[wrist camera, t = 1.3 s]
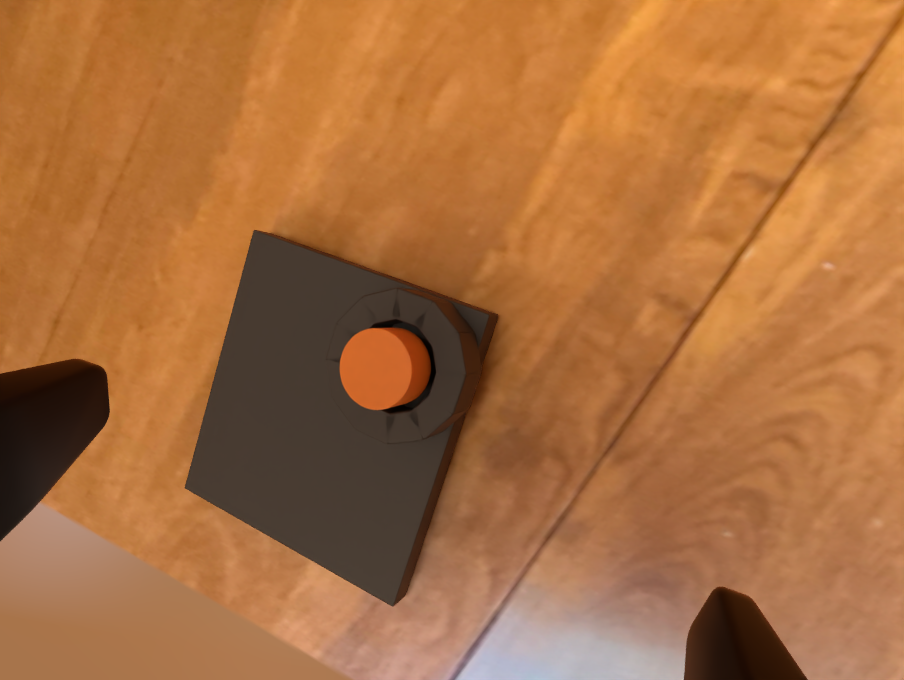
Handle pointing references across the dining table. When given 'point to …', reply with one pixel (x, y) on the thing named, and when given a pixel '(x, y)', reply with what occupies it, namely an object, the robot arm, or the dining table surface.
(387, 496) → the dark grey flat block
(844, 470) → the dining table surface
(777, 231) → the dining table surface
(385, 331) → the button
